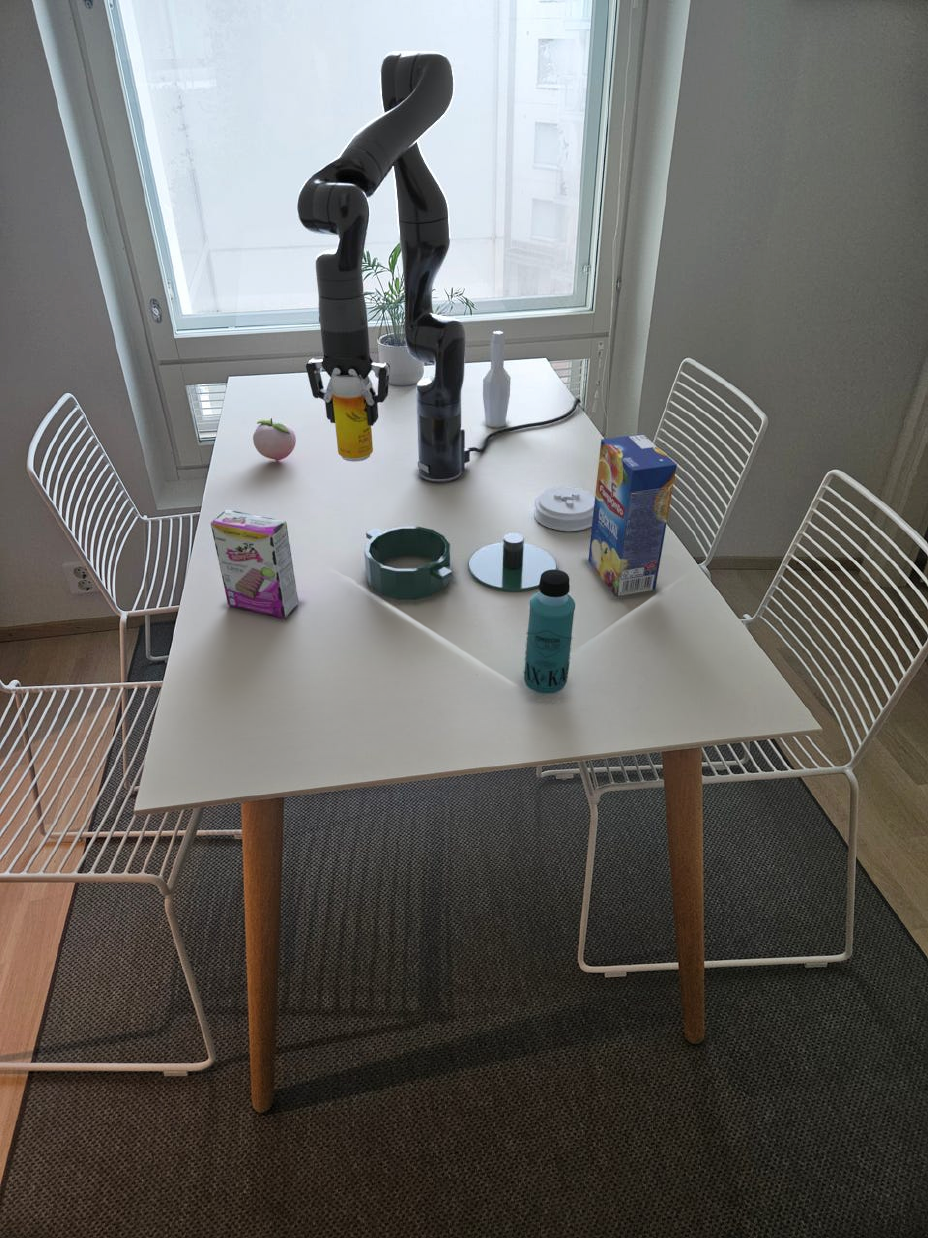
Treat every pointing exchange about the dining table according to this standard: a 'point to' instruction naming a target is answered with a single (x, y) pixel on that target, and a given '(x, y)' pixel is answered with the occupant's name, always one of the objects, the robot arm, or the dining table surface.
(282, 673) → the dining table surface
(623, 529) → the juice carton
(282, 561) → the candy bar box
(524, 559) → the pot lid
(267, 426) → the decorative fruit
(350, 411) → the beer can
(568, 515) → the lid
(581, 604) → the dining table surface
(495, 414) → the low poly bottle
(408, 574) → the pot
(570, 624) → the beverage bottle
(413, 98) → the robot arm
